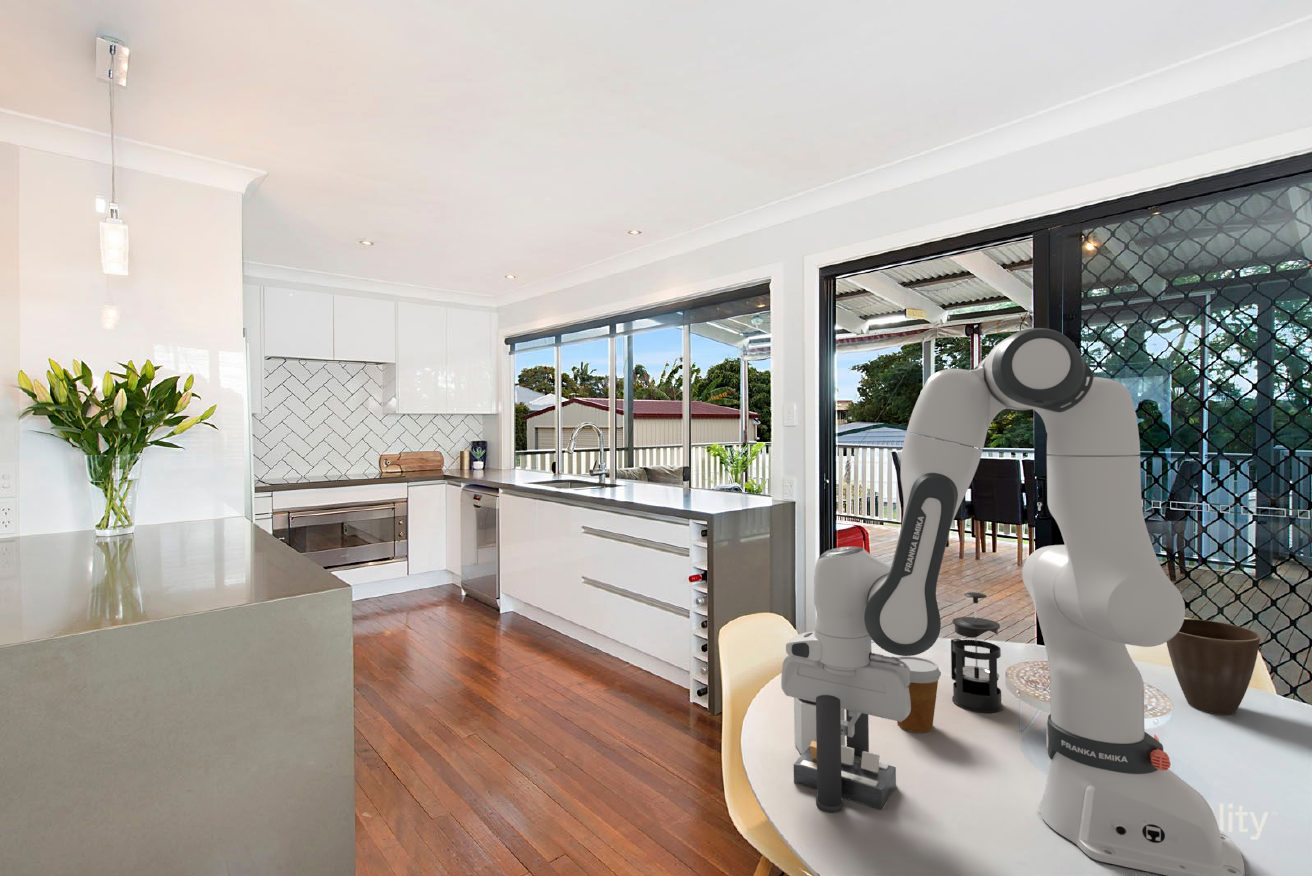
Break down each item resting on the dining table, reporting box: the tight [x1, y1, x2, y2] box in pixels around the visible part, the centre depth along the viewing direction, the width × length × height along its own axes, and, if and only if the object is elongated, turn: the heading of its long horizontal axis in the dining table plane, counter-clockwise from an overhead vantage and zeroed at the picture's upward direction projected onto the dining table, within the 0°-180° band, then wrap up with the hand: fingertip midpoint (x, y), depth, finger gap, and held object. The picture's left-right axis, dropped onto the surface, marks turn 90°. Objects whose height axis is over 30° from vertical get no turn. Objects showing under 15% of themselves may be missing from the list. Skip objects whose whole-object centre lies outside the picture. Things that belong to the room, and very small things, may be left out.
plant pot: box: [1166, 618, 1261, 716], centre depth 129 cm, size 15×15×16 cm
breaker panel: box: [793, 747, 897, 811], centre depth 102 cm, size 14×8×3 cm, turn 55°
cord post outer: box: [815, 695, 844, 814], centre depth 97 cm, size 4×4×16 cm
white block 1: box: [841, 745, 854, 765], centre depth 103 cm, size 2×1×2 cm, turn 55°
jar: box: [793, 697, 846, 756], centre depth 114 cm, size 9×8×12 cm
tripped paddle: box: [810, 741, 817, 759], centre depth 104 cm, size 2×1×2 cm, turn 55°
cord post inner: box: [845, 709, 870, 757], centre depth 108 cm, size 4×4×16 cm
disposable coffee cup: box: [896, 655, 942, 734], centre depth 123 cm, size 10×10×12 cm
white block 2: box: [861, 751, 880, 772], centre depth 101 cm, size 2×1×2 cm, turn 55°
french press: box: [950, 591, 1004, 714], centre depth 133 cm, size 12×9×23 cm
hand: (844, 734), depth 102 cm, fingers closed
